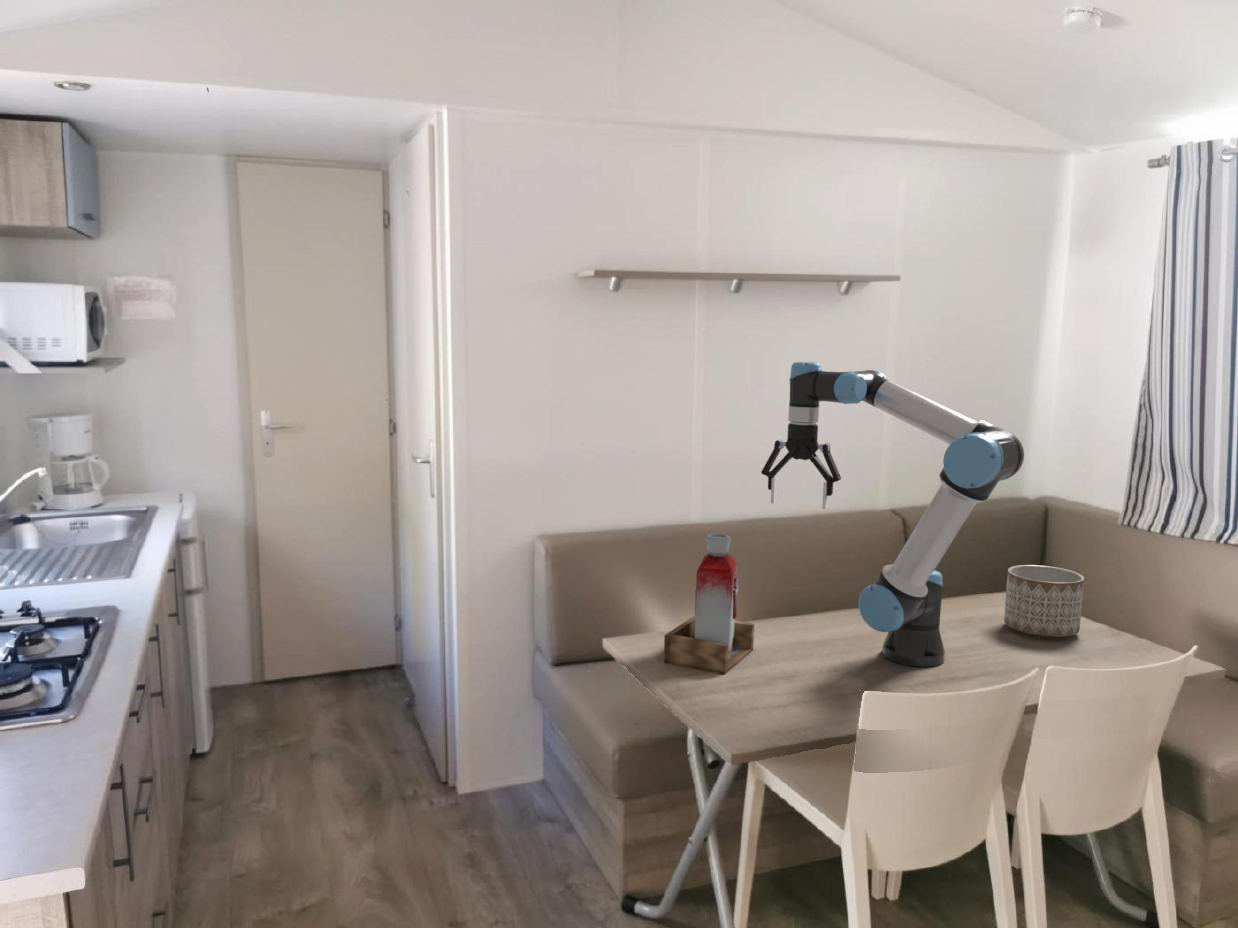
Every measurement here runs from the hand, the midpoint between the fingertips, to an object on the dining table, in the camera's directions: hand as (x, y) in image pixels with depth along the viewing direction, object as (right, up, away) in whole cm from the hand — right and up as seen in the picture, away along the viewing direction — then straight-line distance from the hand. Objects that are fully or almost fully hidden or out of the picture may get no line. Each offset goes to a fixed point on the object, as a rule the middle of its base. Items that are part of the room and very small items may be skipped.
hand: (799, 505), depth 255 cm
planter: (+70, -36, +20) cm, 81 cm away
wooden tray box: (-24, -38, -6) cm, 45 cm away
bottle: (-23, -37, -7) cm, 44 cm away
